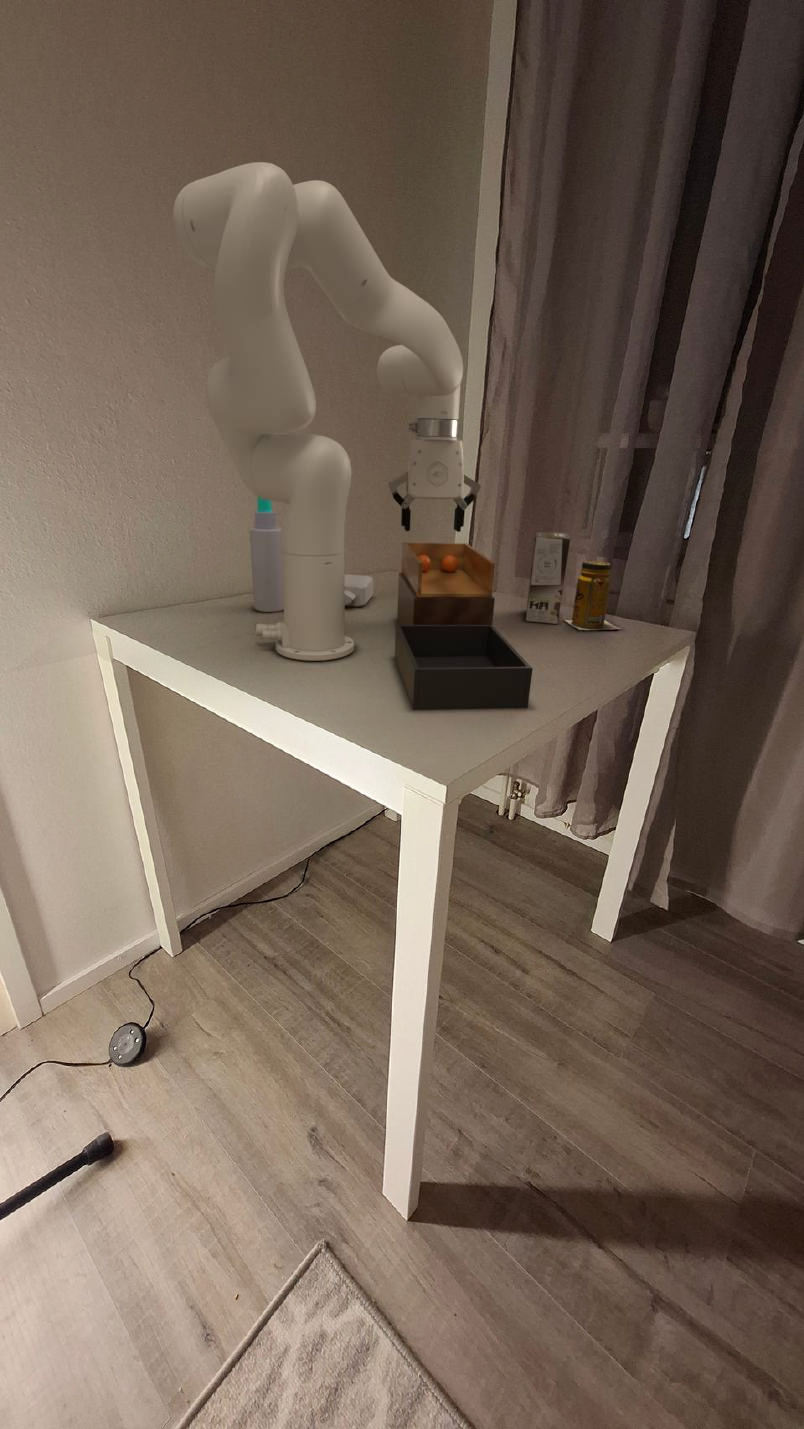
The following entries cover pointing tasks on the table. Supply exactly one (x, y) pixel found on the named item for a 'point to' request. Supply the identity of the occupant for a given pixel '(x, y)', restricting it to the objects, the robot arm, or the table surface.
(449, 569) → the ball
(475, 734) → the table surface
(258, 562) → the spray bottle
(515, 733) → the table surface
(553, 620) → the coffee box
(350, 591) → the charger
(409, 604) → the stand
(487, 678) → the basket
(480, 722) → the table surface
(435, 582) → the pour box
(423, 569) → the ball
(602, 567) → the condiment
